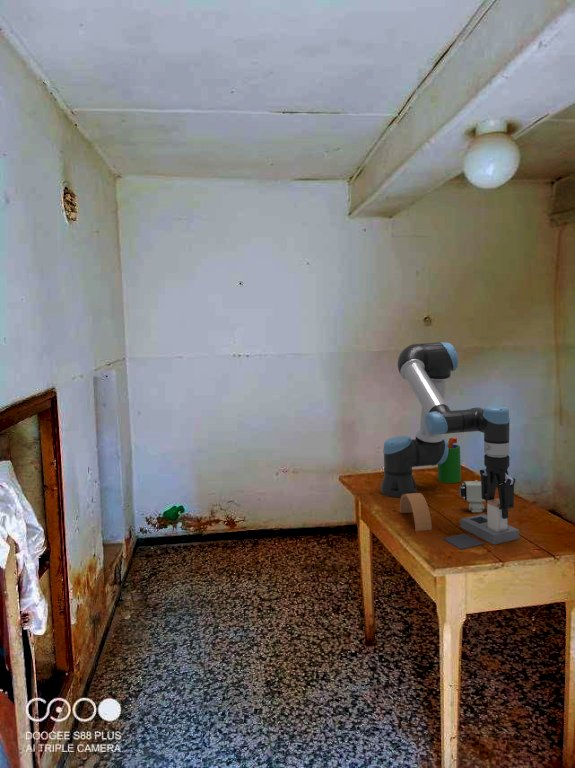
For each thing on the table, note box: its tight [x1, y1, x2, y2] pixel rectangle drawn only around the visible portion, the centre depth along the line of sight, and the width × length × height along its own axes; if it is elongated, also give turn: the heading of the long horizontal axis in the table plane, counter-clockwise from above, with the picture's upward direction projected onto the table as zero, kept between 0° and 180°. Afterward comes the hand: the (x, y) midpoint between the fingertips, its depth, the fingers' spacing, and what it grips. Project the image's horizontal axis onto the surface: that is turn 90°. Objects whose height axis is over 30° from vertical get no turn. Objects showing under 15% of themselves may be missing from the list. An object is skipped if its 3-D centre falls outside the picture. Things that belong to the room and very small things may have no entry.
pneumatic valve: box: [458, 479, 486, 514], centre depth 189 cm, size 6×12×12 cm, turn 78°
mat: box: [442, 532, 485, 550], centre depth 162 cm, size 9×9×1 cm
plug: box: [486, 498, 507, 532], centre depth 164 cm, size 4×4×12 cm
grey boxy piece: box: [459, 513, 520, 545], centre depth 168 cm, size 16×10×4 cm, turn 20°
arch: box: [399, 492, 433, 533], centre depth 182 cm, size 6×20×10 cm, turn 3°
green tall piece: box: [437, 436, 462, 484], centre depth 228 cm, size 10×9×20 cm
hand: (497, 524), depth 164 cm, fingers closed on plug, 4 cm apart
